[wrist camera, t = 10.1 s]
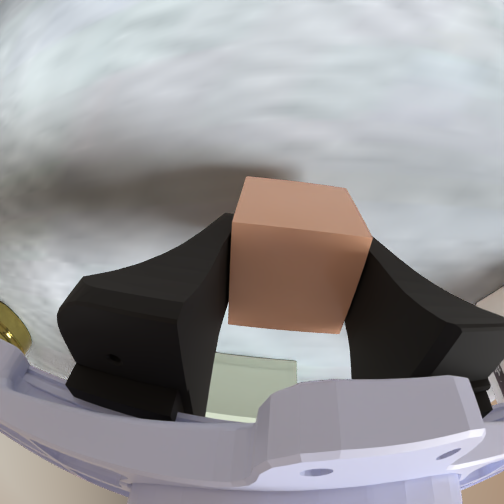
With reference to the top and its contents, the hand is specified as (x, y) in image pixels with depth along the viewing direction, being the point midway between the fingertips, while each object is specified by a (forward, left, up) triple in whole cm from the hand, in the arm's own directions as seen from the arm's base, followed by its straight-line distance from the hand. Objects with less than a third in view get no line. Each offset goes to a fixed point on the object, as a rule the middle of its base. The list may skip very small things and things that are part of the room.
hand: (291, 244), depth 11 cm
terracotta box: (0, 0, -2) cm, 2 cm away
